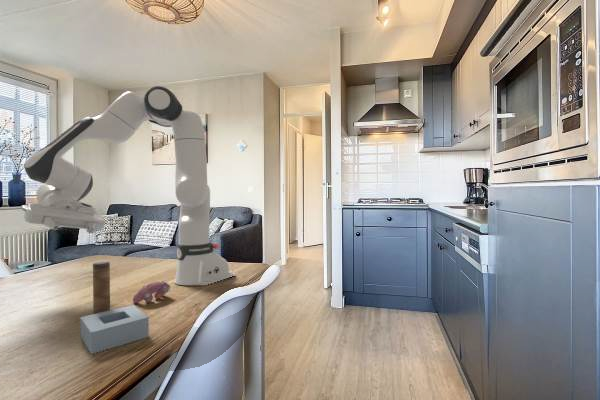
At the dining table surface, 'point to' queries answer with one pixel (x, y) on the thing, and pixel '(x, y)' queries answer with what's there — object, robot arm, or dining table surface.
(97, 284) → the walnut dowel
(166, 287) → the video game controller
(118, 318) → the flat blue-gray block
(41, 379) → the dining table surface
